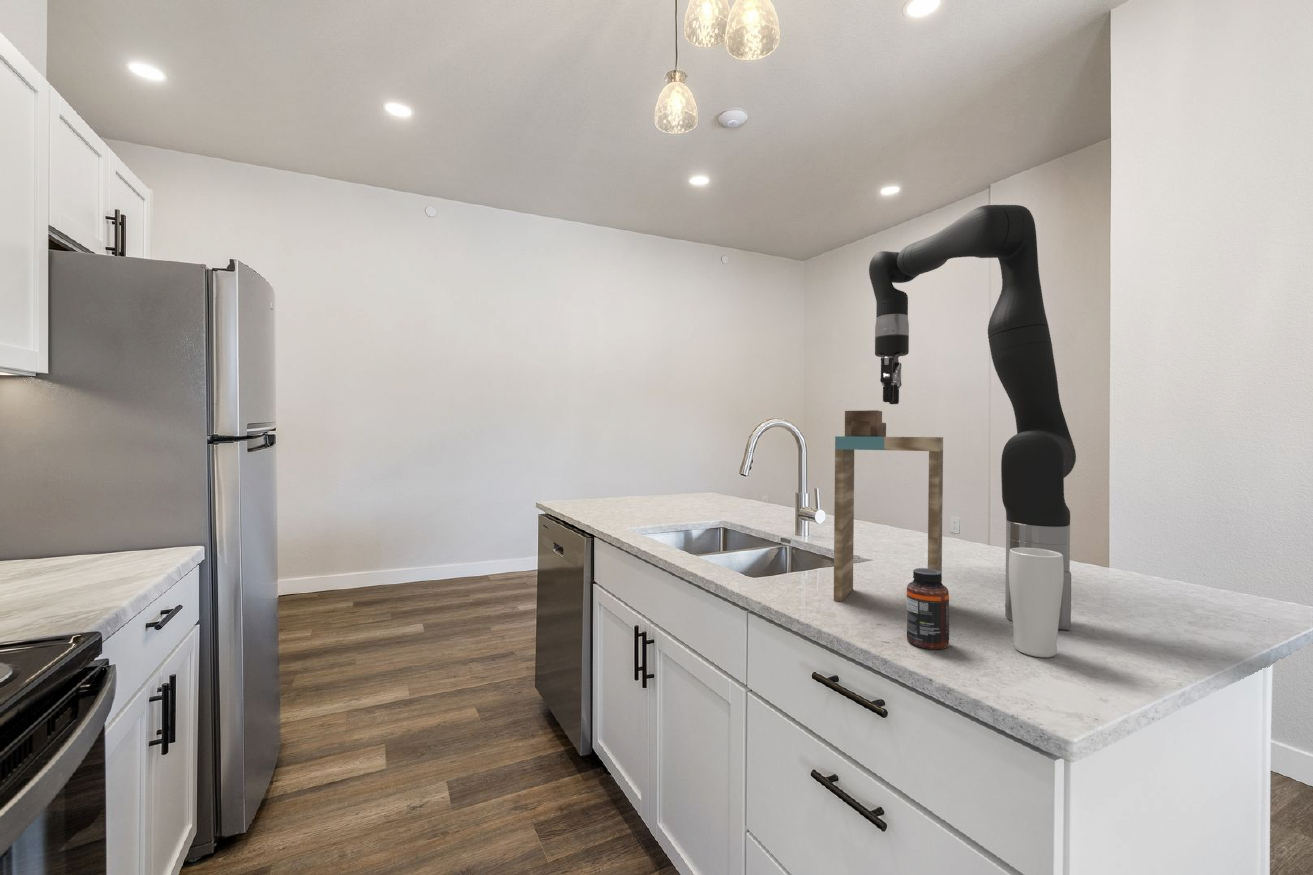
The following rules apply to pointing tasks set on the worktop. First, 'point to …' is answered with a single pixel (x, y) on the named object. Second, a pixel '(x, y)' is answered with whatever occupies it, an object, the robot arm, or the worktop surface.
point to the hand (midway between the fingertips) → (891, 403)
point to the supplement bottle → (927, 610)
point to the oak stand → (846, 500)
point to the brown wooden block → (864, 424)
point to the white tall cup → (1035, 599)
